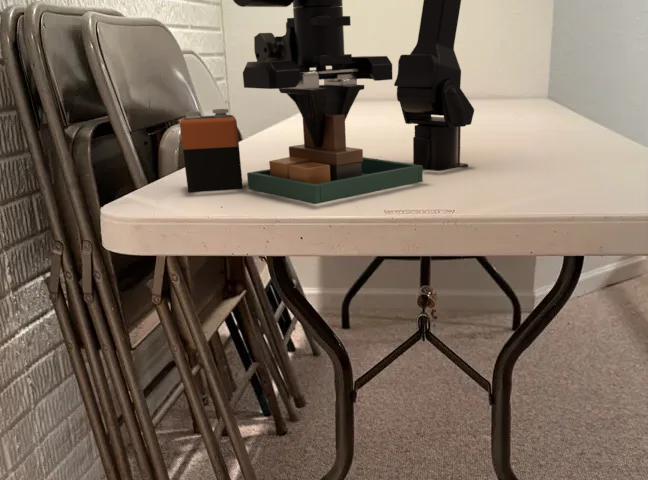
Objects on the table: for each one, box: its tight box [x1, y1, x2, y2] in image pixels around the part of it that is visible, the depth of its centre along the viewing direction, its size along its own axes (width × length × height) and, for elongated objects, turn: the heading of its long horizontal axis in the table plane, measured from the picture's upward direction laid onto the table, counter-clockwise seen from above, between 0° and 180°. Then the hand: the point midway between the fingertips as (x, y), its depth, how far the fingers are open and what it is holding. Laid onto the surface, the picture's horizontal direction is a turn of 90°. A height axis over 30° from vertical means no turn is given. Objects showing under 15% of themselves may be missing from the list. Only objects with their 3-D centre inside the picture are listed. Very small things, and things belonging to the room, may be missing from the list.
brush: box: [288, 113, 364, 181], centre depth 88 cm, size 4×9×8 cm, turn 43°
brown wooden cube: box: [268, 156, 309, 179], centre depth 89 cm, size 4×4×4 cm
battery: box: [179, 108, 244, 193], centre depth 90 cm, size 4×7×10 cm, turn 103°
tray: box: [246, 156, 424, 205], centre depth 91 cm, size 18×14×2 cm
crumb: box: [289, 162, 330, 184], centre depth 85 cm, size 4×4×4 cm
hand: (325, 146), depth 88 cm, fingers closed on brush, 2 cm apart
